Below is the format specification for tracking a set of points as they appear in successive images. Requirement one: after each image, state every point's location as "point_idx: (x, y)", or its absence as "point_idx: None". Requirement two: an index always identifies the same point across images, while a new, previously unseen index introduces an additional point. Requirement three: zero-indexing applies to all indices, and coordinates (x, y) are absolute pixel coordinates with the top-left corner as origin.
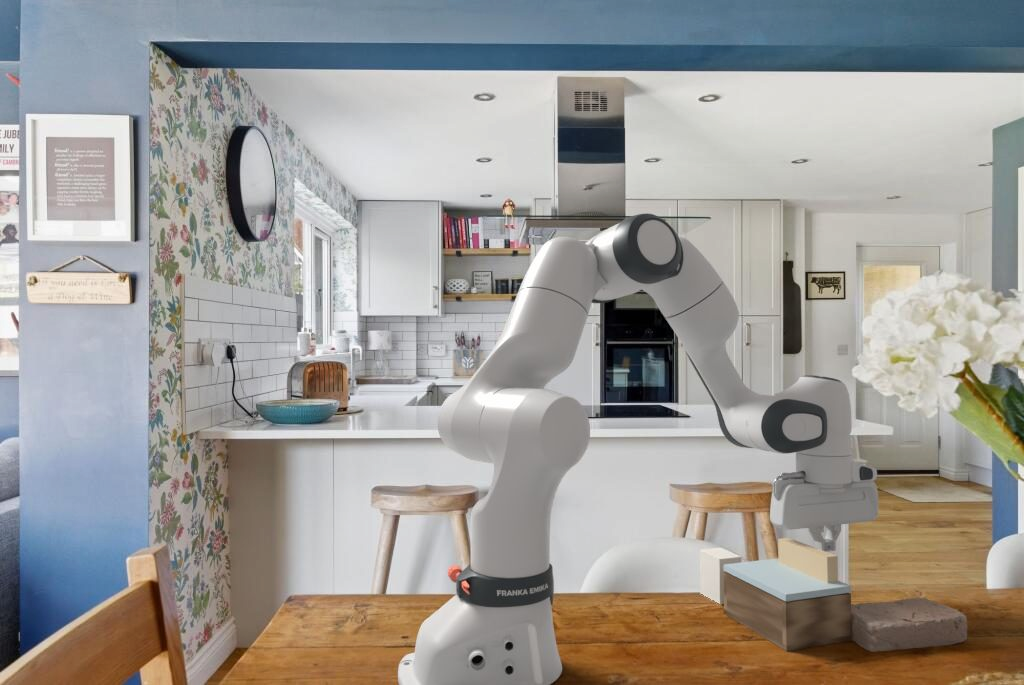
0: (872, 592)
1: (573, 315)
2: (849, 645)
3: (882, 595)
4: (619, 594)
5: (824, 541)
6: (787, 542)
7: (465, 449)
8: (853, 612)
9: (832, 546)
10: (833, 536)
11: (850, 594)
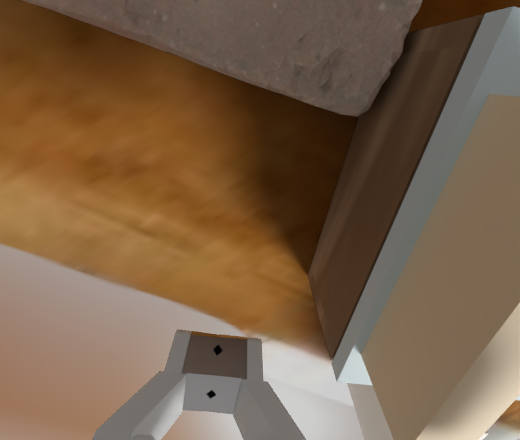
0: (16, 236)
1: None
2: (425, 16)
3: (4, 211)
4: (502, 415)
5: (245, 382)
6: (489, 423)
7: None
8: (402, 34)
9: (193, 347)
10: (164, 402)
11: (478, 17)
